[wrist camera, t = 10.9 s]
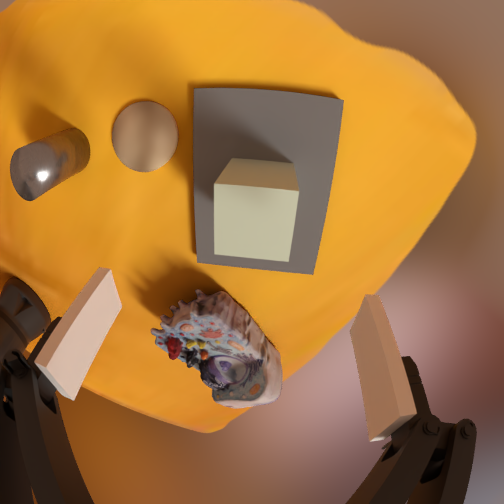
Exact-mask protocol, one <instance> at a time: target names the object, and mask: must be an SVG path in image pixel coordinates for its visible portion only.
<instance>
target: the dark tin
mask: <svg viewBox="0 0 504 504" xmlns="http://www.w3.org/2000/svg"><path fill="white" fill-rule="evenodd" d="M89 158H90V145H89V142H88V139H87V137H86V136H85V134H84V133H83V132H82V131H80V130H79V129H76V128H71V129H68V130H65V131H62V132H59V133H56V134H53V135H51V136H48V137H45V138H43V139H40V140H38V141H35V142H33V143H30V144H28V145H26V146H23V147H21V148H19V149H17V150H16V151H15V152H14V154H13V156H12V159H11V163H10V174H11V179H12V182H13V185H14V187H15V189H16V191H17V193H18V194H19V195H20V196H21V197H22V198H23V199H25V200H27V201H32V200H35V199H36V198H38V197H39V196H41V195H42V194H44V193H45V192H47V191H48V190H50V189H51V188H53V187H55V186H56V185H58V184H60V183H61V182H63V181H64V180H66V179H68V178H70V177H71V176H73V175H75V174H77V173H78V172H80V171H82V170H83V169H84V168H85V167H86V166H87V164H88V162H89Z"/></svg>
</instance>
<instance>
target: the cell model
mask: <svg viewBox="0 0 504 504" xmlns="http://www.w3.org/2000/svg"><path fill="white" fill-rule="evenodd" d="M195 291H196V294H197V298H198V299H195V300H192V301H190V302H189V303H188V304H187V303H185V302H184V301H183V300H180V301H179V302H178V305H179V307H180V308H177V307H175V306H174V305H173V306H171V307H170V310H171V311H172V312H173V314H174V316H173V317H172V318H169V317H167V316H166V315H164V314H163V315H162V316H160V318H161V320H162V322H161V323H160V325H161V327H162V328H163V329H162V330H158V329H155V328H152V329H151V333H152V334H153V335H155V336H156V340H155V344H156V345H157V346H159V347H160V348H161V349H163V350H164V351H166V352H167V353H168V354H169V358H170V359H172V360H175V359H176V358H178V359H180V360H181V361H182V362H186V364H187V367H188V368H190V367H192V366H193V367H194V368H196V369H197V370H199V371H200V373H201V379H202V381H203V382H204V383H205V384H206V385H207V386H208V387H210V388H212V397H213V399H214V401H215V402H216V403H219V404H221V405H224V406H226V407H230V408H235V409H236V408H245V407H251V406H257V405H265V404H268V403H272V402H274V401H276V400H277V399H278V397H279V396H280V393H281V389H282V366H281V361H280V353H279V352H278V351H277V350H276V349H275V348H274V347H273V346H272V344H271V343H270V342H269V341H268V340H267V338H266V337H264V333H263V332H262V330H260V329H259V327H258V326H257V324H256V323H255V322H254V320H253V319H252V317H251V316H249V315H248V312H247V311H245V310H244V309H243V308H241V307H240V306H239V305H238V304H237V303H236V302H234V301H233V299H232V298H231V297H230V296H229V295H228V294H227V293H226V292H223V291H220V292H217V293H215V294H212V295H206V294H205V293H203V292H202V291H201V290H200V289H197V290H195Z"/></svg>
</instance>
